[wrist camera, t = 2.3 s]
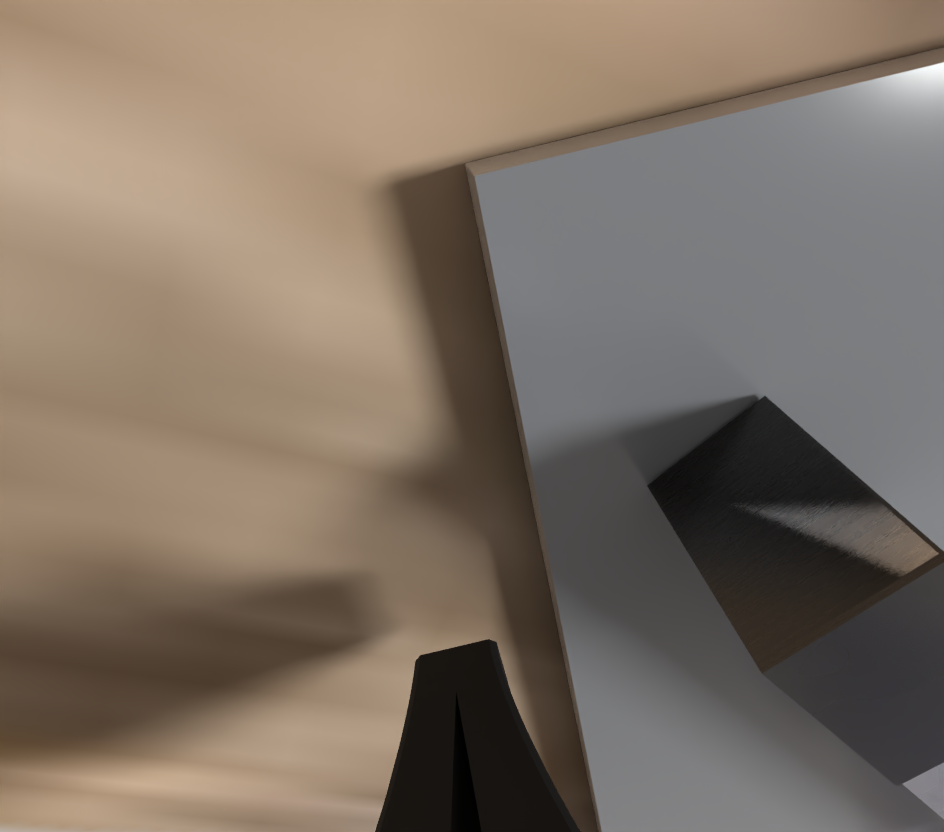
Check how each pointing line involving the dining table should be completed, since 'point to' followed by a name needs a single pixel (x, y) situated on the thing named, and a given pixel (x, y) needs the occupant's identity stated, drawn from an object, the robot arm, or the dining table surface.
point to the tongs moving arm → (821, 587)
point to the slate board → (717, 407)
